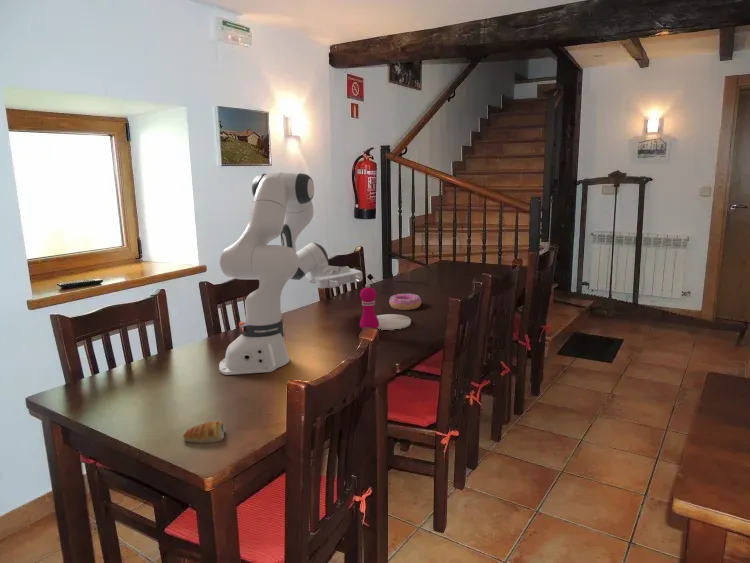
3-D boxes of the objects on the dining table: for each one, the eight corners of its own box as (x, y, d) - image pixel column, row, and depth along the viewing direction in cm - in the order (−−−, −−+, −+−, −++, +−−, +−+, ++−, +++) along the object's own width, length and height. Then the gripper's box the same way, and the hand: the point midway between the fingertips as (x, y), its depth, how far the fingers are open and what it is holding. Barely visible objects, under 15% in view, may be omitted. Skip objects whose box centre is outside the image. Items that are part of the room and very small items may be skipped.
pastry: (182, 447, 124) (180, 432, 123) (186, 434, 130) (184, 419, 129) (224, 442, 125) (222, 427, 125) (226, 429, 132) (224, 415, 131)
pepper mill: (377, 338, 196) (375, 285, 192) (358, 338, 198) (355, 285, 194) (381, 332, 203) (379, 281, 199) (362, 332, 205) (360, 281, 201)
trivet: (372, 332, 204) (372, 328, 204) (361, 320, 221) (361, 317, 221) (417, 327, 208) (417, 323, 208) (402, 315, 225) (402, 312, 225)
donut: (421, 302, 246) (421, 292, 245) (421, 311, 233) (420, 299, 232) (390, 303, 248) (390, 292, 247) (388, 311, 234) (387, 300, 233)
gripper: (307, 273, 211) (325, 278, 200) (350, 265, 222) (370, 269, 211) (308, 288, 212) (327, 294, 201) (351, 280, 224) (370, 285, 213)
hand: (349, 281), depth 206 cm, fingers open, 8 cm apart
